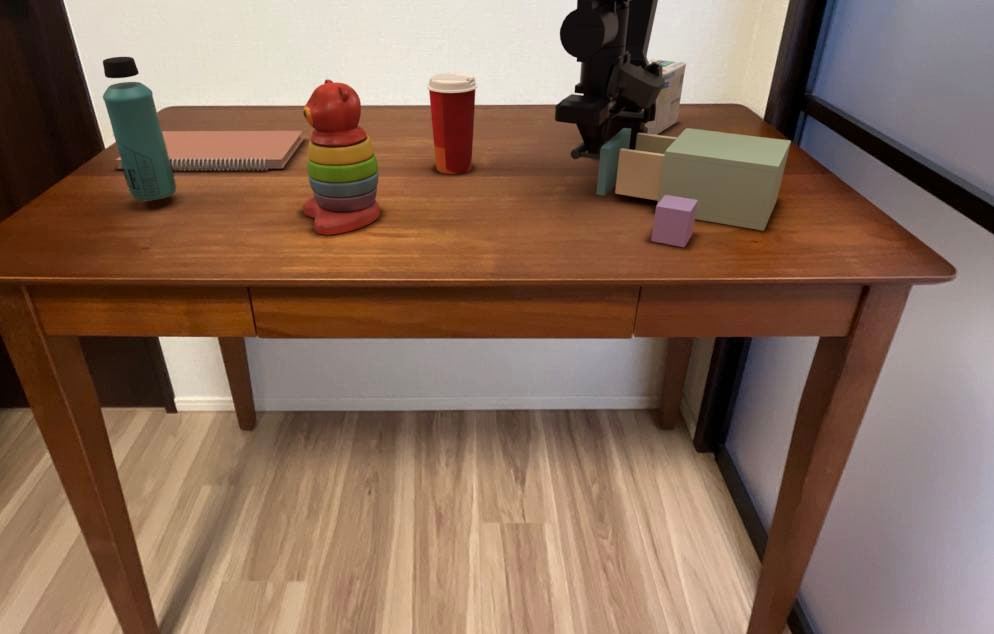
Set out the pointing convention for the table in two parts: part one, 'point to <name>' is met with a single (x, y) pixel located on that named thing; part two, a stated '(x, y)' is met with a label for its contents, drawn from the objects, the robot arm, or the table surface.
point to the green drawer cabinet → (726, 175)
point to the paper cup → (452, 120)
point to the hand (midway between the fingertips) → (593, 158)
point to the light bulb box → (667, 96)
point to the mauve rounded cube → (674, 220)
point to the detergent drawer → (630, 164)
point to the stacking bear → (339, 162)
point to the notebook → (229, 149)
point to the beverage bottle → (137, 133)
